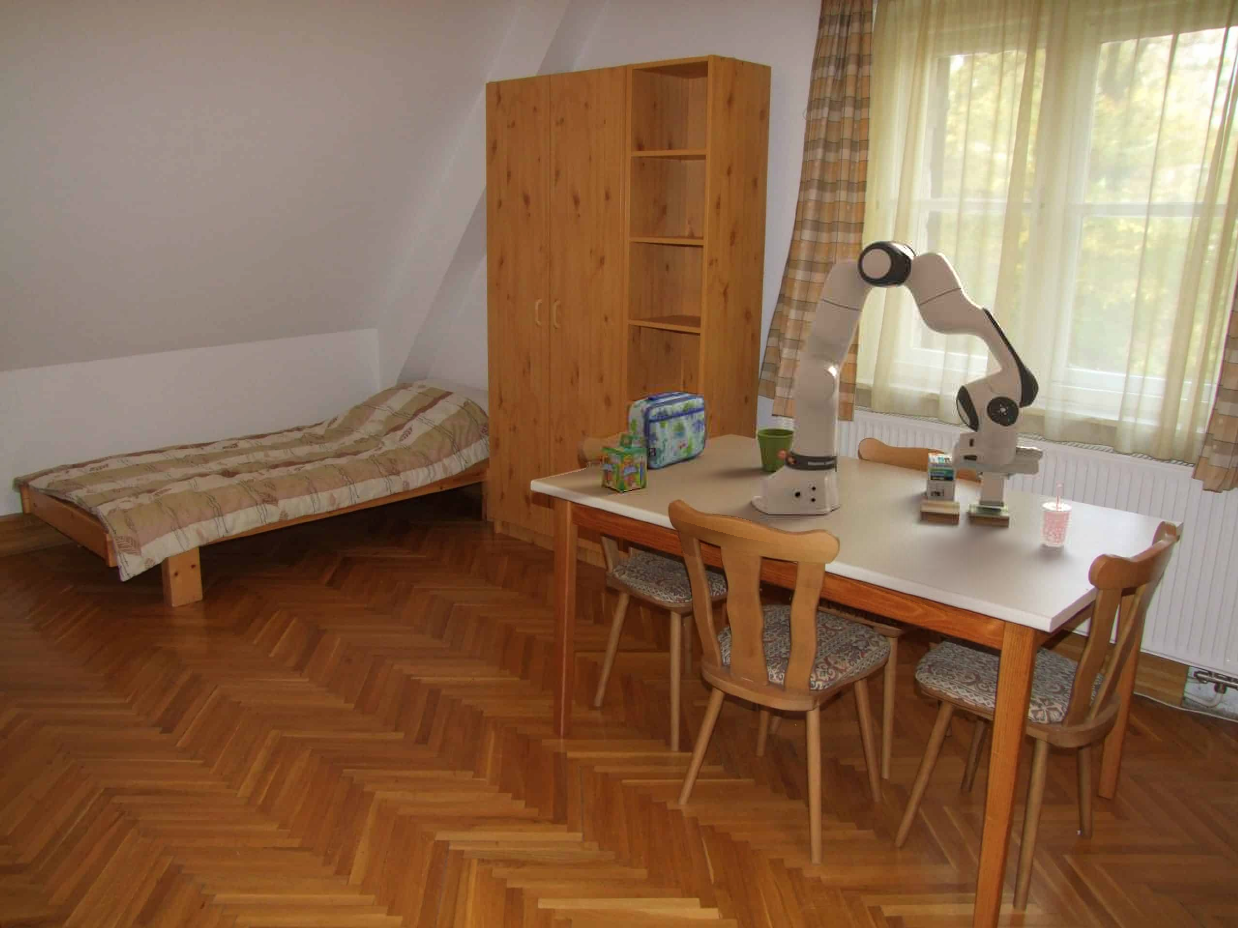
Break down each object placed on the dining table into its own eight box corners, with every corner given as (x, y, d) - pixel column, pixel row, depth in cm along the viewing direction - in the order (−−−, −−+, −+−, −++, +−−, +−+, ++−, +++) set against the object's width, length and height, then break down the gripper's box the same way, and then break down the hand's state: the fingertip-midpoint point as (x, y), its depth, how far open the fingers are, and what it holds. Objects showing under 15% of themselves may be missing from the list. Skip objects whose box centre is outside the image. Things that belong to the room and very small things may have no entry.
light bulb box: (954, 503, 272) (957, 463, 270) (928, 501, 274) (931, 462, 271) (950, 492, 282) (953, 453, 280) (924, 490, 284) (927, 452, 281)
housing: (1003, 507, 252) (1006, 465, 251) (979, 505, 253) (982, 463, 253) (1002, 505, 259) (1004, 465, 259) (978, 504, 261) (981, 463, 261)
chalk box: (601, 486, 290) (600, 434, 286) (627, 480, 295) (626, 430, 291) (621, 493, 283) (621, 440, 279) (647, 487, 288) (647, 435, 284)
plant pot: (801, 467, 308) (802, 430, 305) (785, 476, 298) (786, 438, 296) (764, 462, 314) (765, 426, 311) (747, 471, 305) (748, 433, 302)
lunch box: (649, 472, 303) (649, 402, 298) (624, 466, 311) (623, 397, 306) (709, 457, 320) (710, 390, 315) (684, 451, 328) (685, 386, 323)
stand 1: (958, 524, 255) (959, 514, 254) (920, 520, 258) (921, 511, 257) (958, 511, 265) (959, 501, 264) (922, 508, 268) (922, 499, 267)
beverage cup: (1053, 549, 237) (1059, 490, 233) (1033, 541, 242) (1039, 483, 239) (1073, 545, 239) (1080, 487, 236) (1053, 537, 245) (1059, 480, 241)
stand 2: (1008, 526, 253) (1009, 516, 252) (969, 523, 256) (970, 513, 255) (1006, 513, 263) (1007, 503, 263) (969, 510, 266) (970, 501, 265)
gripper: (1044, 438, 244) (1037, 468, 256) (953, 433, 250) (950, 462, 262) (1044, 460, 241) (1037, 490, 253) (951, 455, 247) (949, 484, 259)
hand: (992, 476), depth 257 cm, fingers closed on housing, 5 cm apart
